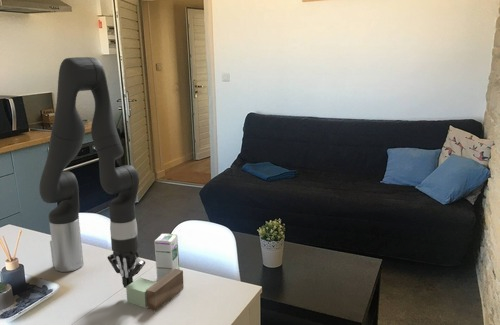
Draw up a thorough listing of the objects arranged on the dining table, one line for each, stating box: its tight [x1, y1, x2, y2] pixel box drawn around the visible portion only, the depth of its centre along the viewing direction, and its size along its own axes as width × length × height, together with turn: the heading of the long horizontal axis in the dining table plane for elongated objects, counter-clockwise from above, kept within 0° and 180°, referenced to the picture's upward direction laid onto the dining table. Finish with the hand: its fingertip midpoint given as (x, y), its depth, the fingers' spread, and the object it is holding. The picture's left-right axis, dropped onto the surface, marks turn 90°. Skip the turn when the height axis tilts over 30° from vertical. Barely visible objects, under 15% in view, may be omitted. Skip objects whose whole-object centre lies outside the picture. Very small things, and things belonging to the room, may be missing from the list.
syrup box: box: [154, 233, 181, 282], centre depth 138 cm, size 6×6×14 cm
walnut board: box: [146, 268, 185, 312], centre depth 128 cm, size 3×14×6 cm, turn 154°
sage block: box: [125, 277, 157, 309], centre depth 127 cm, size 7×6×5 cm
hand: (128, 286), depth 129 cm, fingers closed
